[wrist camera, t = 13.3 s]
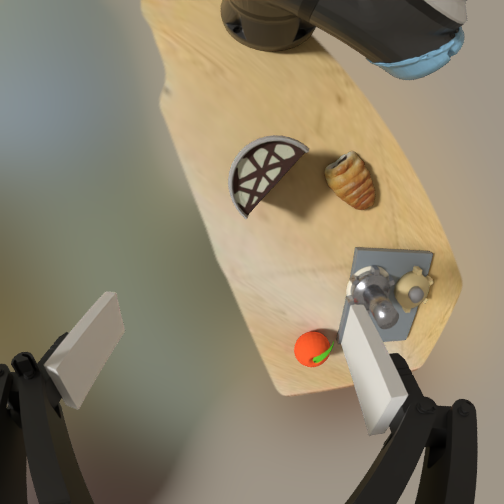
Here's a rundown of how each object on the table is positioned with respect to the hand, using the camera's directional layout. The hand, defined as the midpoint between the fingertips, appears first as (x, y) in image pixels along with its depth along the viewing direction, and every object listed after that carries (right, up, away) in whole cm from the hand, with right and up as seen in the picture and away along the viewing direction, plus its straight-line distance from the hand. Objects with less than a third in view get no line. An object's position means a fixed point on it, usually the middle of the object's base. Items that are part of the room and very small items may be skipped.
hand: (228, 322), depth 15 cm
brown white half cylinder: (+2, +17, +27) cm, 32 cm away
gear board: (+27, -5, +35) cm, 44 cm away
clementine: (+13, -13, +39) cm, 43 cm away
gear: (+22, -3, +32) cm, 39 cm away
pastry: (+17, +16, +28) cm, 36 cm away
